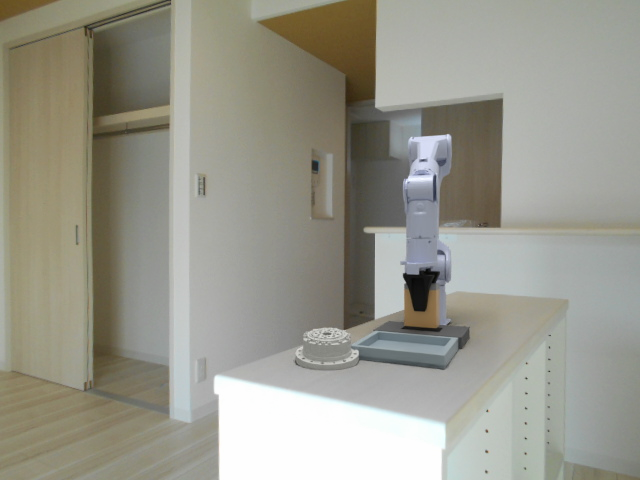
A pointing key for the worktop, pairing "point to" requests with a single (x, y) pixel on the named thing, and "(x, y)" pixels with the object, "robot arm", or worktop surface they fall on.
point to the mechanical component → (327, 350)
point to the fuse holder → (429, 331)
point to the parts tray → (407, 349)
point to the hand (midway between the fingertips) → (422, 309)
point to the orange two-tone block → (422, 318)
